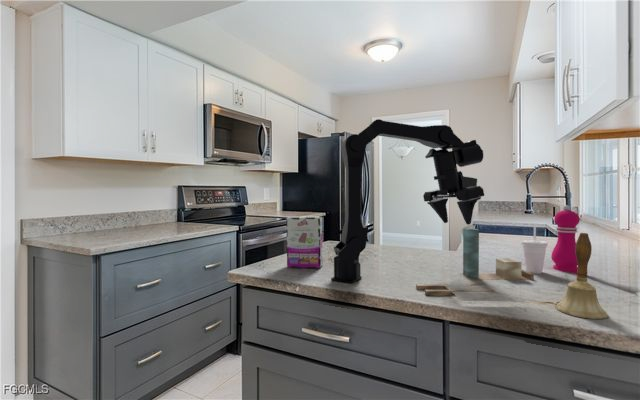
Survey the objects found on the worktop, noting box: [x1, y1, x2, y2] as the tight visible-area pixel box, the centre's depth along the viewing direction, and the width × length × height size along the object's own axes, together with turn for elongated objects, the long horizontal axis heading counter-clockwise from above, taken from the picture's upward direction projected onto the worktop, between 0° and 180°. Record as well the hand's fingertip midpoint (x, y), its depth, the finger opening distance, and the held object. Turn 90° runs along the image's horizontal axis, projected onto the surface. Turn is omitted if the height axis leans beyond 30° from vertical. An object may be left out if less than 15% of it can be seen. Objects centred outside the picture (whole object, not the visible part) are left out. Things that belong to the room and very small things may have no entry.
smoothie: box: [521, 226, 548, 274], centre depth 96 cm, size 6×6×14 cm
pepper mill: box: [550, 204, 580, 275], centre depth 99 cm, size 7×7×20 cm
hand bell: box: [555, 232, 609, 320], centre depth 67 cm, size 8×8×16 cm
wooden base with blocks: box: [458, 227, 535, 281], centre depth 91 cm, size 17×6×14 cm, turn 87°
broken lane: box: [415, 282, 496, 297], centre depth 82 cm, size 18×7×1 cm, turn 87°
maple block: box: [495, 257, 522, 279], centre depth 91 cm, size 4×4×4 cm
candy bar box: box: [285, 215, 324, 269], centre depth 109 cm, size 11×5×16 cm, turn 80°
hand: (457, 223), depth 96 cm, fingers open, 9 cm apart
